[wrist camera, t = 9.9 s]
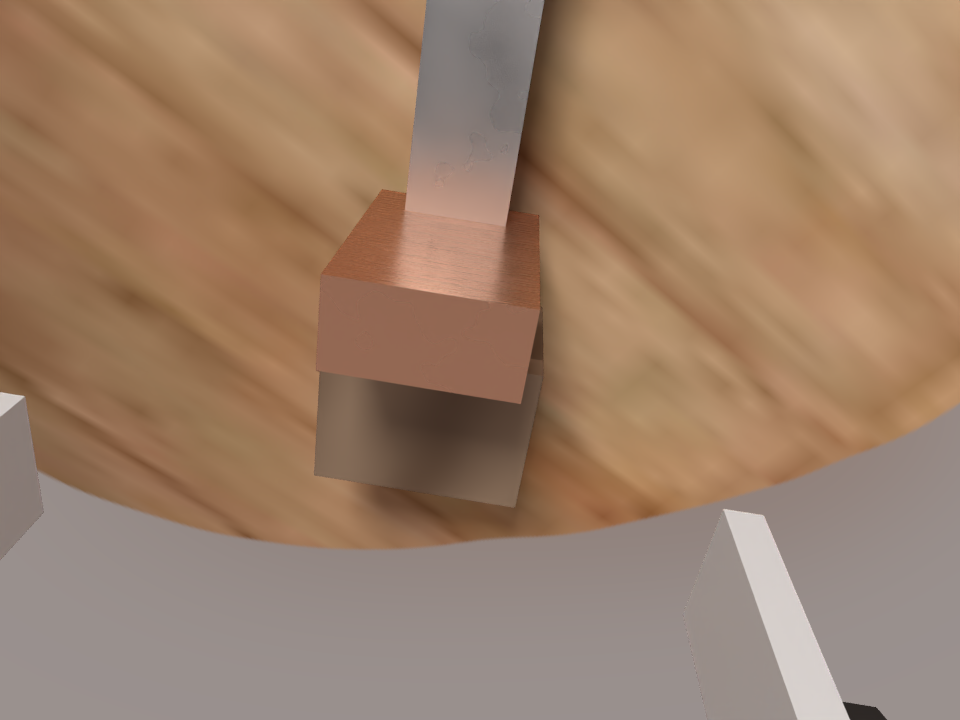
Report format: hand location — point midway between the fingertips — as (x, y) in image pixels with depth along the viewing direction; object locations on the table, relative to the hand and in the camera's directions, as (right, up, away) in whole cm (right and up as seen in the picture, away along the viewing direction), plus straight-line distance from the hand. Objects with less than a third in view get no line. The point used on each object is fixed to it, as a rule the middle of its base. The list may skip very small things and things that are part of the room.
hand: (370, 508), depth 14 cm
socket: (0, +3, +19) cm, 19 cm away
